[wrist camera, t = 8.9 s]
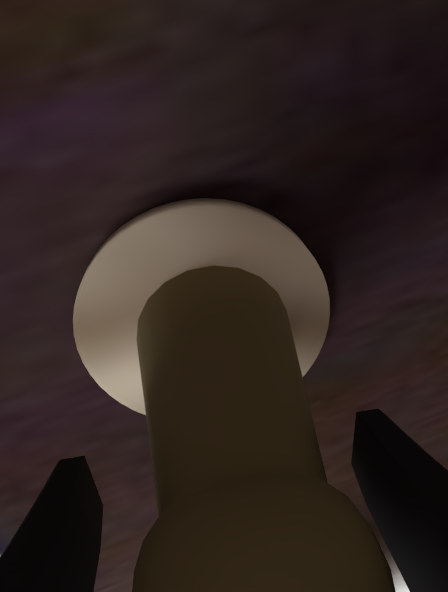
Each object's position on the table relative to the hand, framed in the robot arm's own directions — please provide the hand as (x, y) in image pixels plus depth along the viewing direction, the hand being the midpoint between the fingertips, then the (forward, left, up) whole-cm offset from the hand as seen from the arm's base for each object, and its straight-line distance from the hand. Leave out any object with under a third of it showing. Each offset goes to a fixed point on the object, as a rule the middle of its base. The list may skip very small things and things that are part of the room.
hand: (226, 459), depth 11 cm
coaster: (0, 0, -7) cm, 7 cm away
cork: (0, 0, -6) cm, 6 cm away
